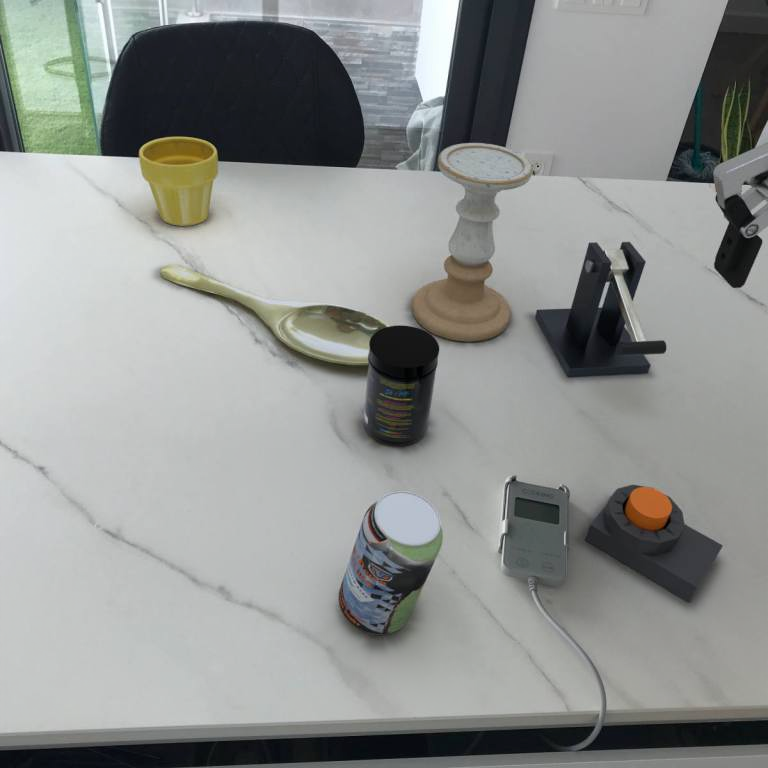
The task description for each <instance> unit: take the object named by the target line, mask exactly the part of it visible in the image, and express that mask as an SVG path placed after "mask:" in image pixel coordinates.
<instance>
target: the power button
mask: <svg viewBox="0 0 768 768" xmlns="http://www.w3.org/2000/svg"><path fill="white" fill-rule="evenodd" d="M649 487H650V486H645V487H640V488H637V489H635V490H633V491H632V493H631V494H630V497H629V499H628V502H627V504H626V507H625V514H626V517H627V518H628V520H629V521H630V522H631V523H632V524H634V525H636V526H637V527H639V528H641V529H643V530H648V531H657V530H660V529H662V528H663V527H664V526H665V524H666V522H667V520H668V518H669V515H670V513H671V511H672V505H671V502H670V500H669V499H668V497H667V496H668V495H667V494H665V493H663V492H662V491H660V490H658V489H656V488H654V487H651V488H649ZM653 488H654V489H653ZM664 494H665V495H664ZM666 495H667V496H666Z"/></svg>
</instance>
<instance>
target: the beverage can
mask: <svg viewBox="0 0 768 768" xmlns="http://www.w3.org/2000/svg"><path fill="white" fill-rule="evenodd" d="M440 517H441V516H440V514H439V512H438V510H437V508H436V507H435V505H433V504H432V503H431V502H430V501H429V500H428V499H426V498H425V497H423V496H421V495H419V494H417V493H414V492H410V491H405V490H399V491H398V490H397V491H392V492H389V493H388V492H387V494H385V495H382V496H381V498H380V499H378V500H376V501H375V502H374V503H372V504H371V505H370V506H369V508H368V509H367V510H366V512H365V514H364V515H363V518H362V522H361V524H360V526H359V530H358V533H357V536H356V539H355V542H354V545H353V547H352V551H351V554H350V557H349V560H348V562H347V567H346V569H345V571H344V575H343V577H342V581H341V584H340V587H339V590H338V591H339V592H338V605H339V608H340V610H341V612H342V614H343V616H344V617H345V618H346V620H347V621H348V622H349V623H350V624H351V625H352V626H353V627H355V628H356V629H358V630H360V631H362V632H364V633H367V634H370V635H379V636H380V635H381V636H382V635H389V634H393V633H395V632H396V631H400V629H402V628H403V627H404V626H405V625H406V624H407V622H409V619H410V617H411V615H412V612H413V610H414V609H415V606H416V605H417V602H418V599H419V597H420V595H421V593H422V591H423V588H424V585H425V584H426V582H427V580H428V577H429V574H430V573H431V570H432V567H433V566H434V564H435V562H436V559H437V557H438V555H439V553H440V551H441V548H442V545H443V540H444V533H443V527H442V524H441V523H442V522H441V518H440Z"/></svg>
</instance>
